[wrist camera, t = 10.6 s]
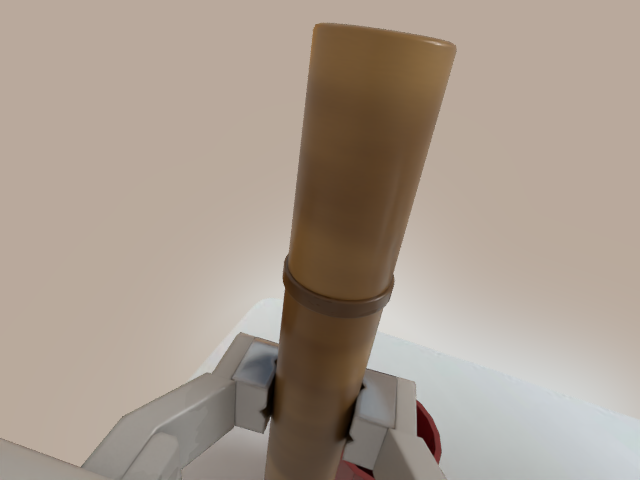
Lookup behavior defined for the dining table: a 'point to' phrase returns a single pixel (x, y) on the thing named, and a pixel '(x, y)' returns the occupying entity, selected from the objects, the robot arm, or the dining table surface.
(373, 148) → the tan rod with ring
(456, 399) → the dining table surface
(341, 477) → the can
